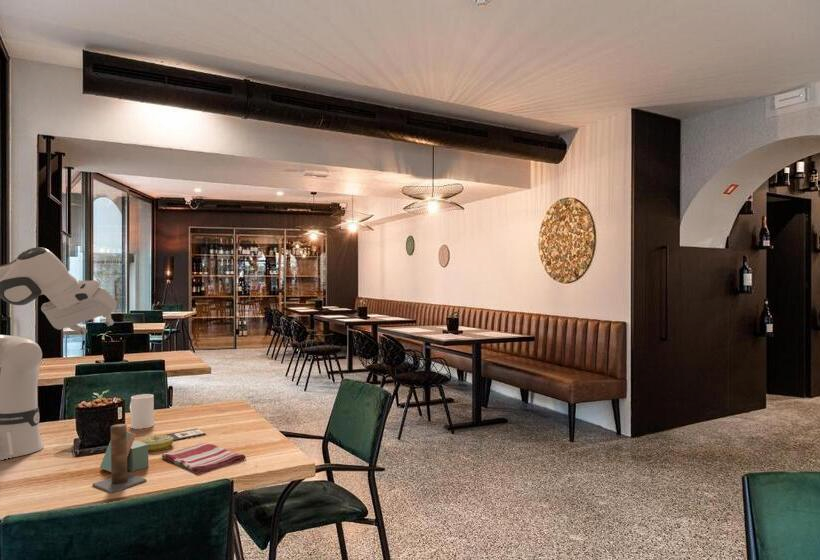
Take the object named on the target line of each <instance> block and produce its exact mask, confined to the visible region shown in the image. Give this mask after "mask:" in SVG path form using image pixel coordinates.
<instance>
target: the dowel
mask: <svg viewBox="0 0 820 560" xmlns="http://www.w3.org/2000/svg"><path fill="white" fill-rule="evenodd" d="M127 427H128V425H127V424H126V423H118V424H113V425H111V426H110V440H111V472H110V473H111V477H110V478H111V481H112V484H121V483H125V482H126V481H127V473H128V470H127V432H128V429H127Z"/></svg>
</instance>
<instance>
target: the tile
mask: <svg viewBox="0 0 820 560" xmlns="http://www.w3.org/2000/svg"><path fill="white" fill-rule="evenodd" d="M136 436H137V434H136V433H135V432H130V431H127V457H128V454H129V452H130V449H131V446H132V444H133V441H135V438H136ZM99 466H100V467H99V469H102V470H105V471H106V472H109V473H111V439H110V441H109V443H108V446H107V449H106V450H105V453H104V455H103V459H102V461H101V464H100V465H99Z"/></svg>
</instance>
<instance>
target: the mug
mask: <svg viewBox="0 0 820 560" xmlns="http://www.w3.org/2000/svg"><path fill="white" fill-rule="evenodd" d="M154 405H155V401H154V394H151V393H142V394H136V395H132V396H130V402H129V412H130V417H131V418H130V419H131V421H130V422H131V423H130V429H132V428H133V429H132V430H143V428H145V429H148V428H152V427H154V426H155V413H154V412H155V411H154V410H155V406H154Z"/></svg>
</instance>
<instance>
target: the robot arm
mask: <svg viewBox="0 0 820 560" xmlns="http://www.w3.org/2000/svg"><path fill="white" fill-rule="evenodd" d="M42 295H44V296H46V298H48V300H49V301H47V302H44V303H42V305H41V306H40V309H41V312H42V313H43V314H44V315H45V317H46V318H47V320H48V322H49V323H50V325H51V326H52V327H53V328H54V329H56V330H60V331H61V330H62V329H65V328H69V329H70V330H72V331H75V332H77V333H78V334H79V335H80V336H83V335H86V334H87V333H88V330H87V328H86V327H85V326H83V327H82V326H80V325H78V324H82V323H84V322H88V321H90V320H93V319H96V318H99V317H103V318H104V319H105V322H104V324H105V325H106V327H110V326H113V325H114V324H115V321H114V319H113V318H112V313H113V312H114V311H115V310H116V308H117V306H118V303H117V300H116V299H115V298H114V297H113V296H112V295H111V294H110V292H109V291H108V290H107V289H105V288H103V287H101V284H100V281H98V280H95V279H94V280H77V278H76V277H75V276H73V275H72V274H70V273H69V271H68V268H67V267H66V266H65V265H64V263H63V262H62V261H61V260H60V258H58V256H56V255H55V254H54V253H53V252H52V251H50V250H49V249H47V248H45V247H40V246H39V247H38V246H37V247H36V246H35V247H32V248H29V249H27V250H25V251H22V252H21V253H19V254H18V256H17V257H16V258H15V259H14V260H12V261H11V262H9V263H6V264H2V265H0V299H1V300H2V301H4V302H6V303H7V304H10V305H13V306H25V305H28V304H29V303H31V302H33V301H34V300H36V299H37V298H39V297H40V296H42ZM42 359H43V351H42V348H41V347H40V345H39V344H38V343H37V342H36V341H34V340H32V339H29V338H25V337H22V336H16V335H8V334H7V335H6V334H0V461H3V460H4V459H6V460H9V459H8V458H10V459H12V457H13V458H17V457H21V456H26V455H29V454H33V453H35V452H36V453H37V452H38V451H40V450H42V449H43V448H44V447H45V446H44V443H43V441H42V437H41V434H40V426H39V424H40V407H39V406H38V381H39V376H40V371H41V364H42V363H41V361H42ZM4 461H5V460H4Z"/></svg>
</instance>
